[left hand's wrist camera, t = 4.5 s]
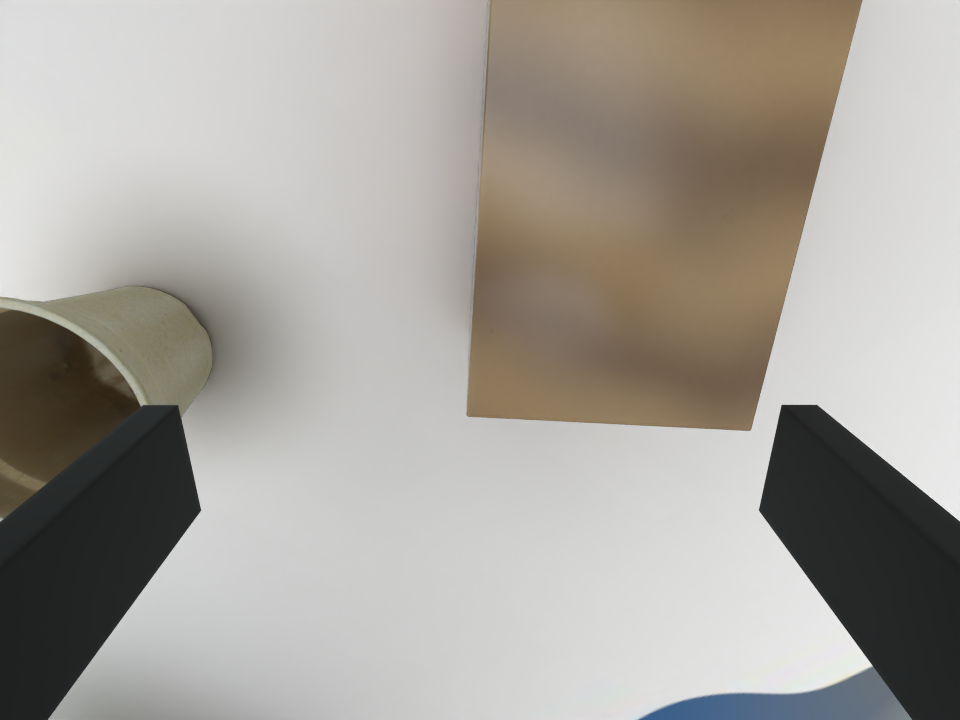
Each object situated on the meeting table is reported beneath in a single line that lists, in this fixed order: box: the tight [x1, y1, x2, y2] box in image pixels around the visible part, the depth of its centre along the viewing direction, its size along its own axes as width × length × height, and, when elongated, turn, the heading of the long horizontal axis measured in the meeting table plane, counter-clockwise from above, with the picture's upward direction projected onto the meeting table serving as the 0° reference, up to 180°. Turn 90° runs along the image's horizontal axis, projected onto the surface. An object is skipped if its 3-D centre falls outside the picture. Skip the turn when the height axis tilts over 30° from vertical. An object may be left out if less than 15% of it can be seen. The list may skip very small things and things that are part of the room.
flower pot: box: [0, 286, 213, 521], centre depth 24 cm, size 9×9×9 cm
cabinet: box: [467, 0, 862, 431], centre depth 21 cm, size 19×10×9 cm, turn 177°
